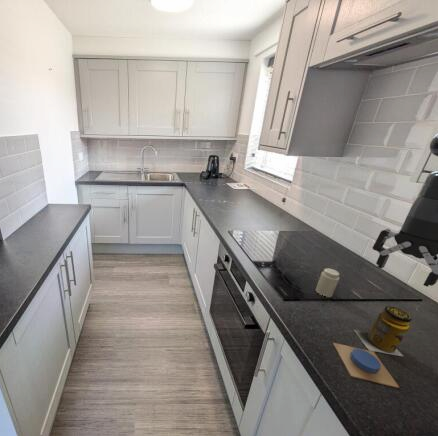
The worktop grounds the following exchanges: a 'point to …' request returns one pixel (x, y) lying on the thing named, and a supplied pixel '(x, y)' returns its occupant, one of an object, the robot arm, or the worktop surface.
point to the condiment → (386, 331)
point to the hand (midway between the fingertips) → (402, 275)
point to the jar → (327, 282)
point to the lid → (365, 361)
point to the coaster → (356, 372)
